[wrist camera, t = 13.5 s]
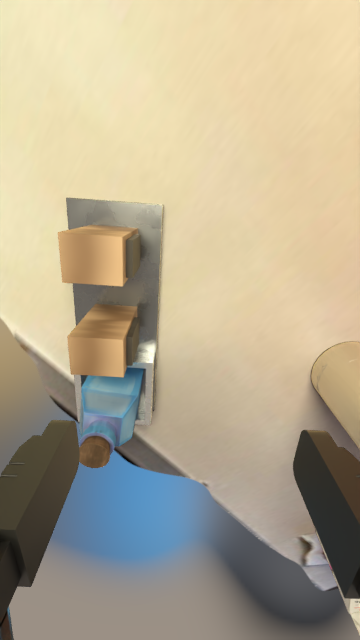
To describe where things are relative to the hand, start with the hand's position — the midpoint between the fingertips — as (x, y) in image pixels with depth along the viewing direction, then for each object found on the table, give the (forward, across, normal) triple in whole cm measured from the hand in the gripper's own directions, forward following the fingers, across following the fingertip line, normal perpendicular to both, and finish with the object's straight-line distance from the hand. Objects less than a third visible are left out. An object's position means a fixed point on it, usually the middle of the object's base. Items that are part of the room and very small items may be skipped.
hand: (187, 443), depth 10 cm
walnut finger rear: (+24, +8, +5) cm, 26 cm away
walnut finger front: (+24, +8, -4) cm, 26 cm away
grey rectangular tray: (+26, +8, +5) cm, 27 cm away
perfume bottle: (+24, +8, +14) cm, 29 cm away
